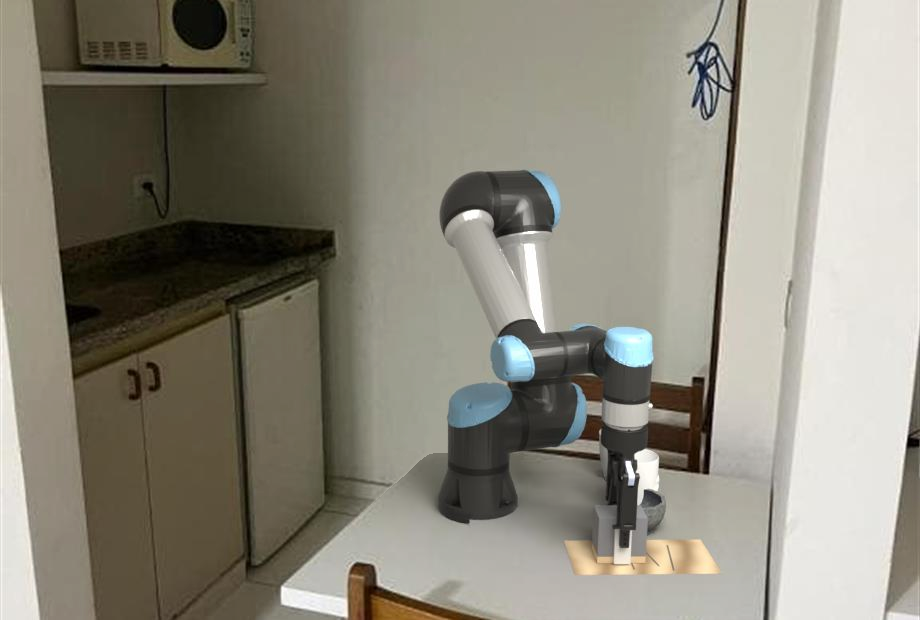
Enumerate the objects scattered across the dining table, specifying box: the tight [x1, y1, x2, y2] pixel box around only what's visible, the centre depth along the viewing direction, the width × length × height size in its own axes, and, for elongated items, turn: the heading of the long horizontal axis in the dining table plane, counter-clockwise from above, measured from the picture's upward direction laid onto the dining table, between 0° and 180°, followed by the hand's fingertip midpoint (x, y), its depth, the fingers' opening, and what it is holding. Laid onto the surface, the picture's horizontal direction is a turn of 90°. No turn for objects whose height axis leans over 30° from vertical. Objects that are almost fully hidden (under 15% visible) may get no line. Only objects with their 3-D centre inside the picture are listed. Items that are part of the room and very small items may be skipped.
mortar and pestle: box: [604, 476, 667, 536], centre depth 164 cm, size 11×9×12 cm
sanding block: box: [591, 505, 648, 564], centre depth 154 cm, size 8×5×8 cm, turn 92°
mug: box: [634, 448, 660, 505], centre depth 173 cm, size 8×12×12 cm
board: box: [563, 538, 723, 576], centre depth 155 cm, size 24×12×1 cm, turn 92°
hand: (618, 554), depth 155 cm, fingers closed on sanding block, 5 cm apart
